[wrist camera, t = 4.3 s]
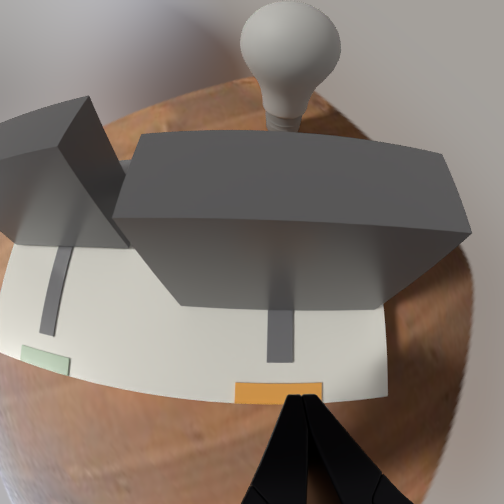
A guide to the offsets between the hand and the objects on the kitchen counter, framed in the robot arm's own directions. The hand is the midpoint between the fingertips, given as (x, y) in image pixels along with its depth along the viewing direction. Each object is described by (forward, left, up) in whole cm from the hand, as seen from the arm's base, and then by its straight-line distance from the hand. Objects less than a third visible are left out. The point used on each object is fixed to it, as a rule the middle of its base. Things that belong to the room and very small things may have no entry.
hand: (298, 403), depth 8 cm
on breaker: (+1, +16, -5) cm, 16 cm away
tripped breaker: (+5, +3, -5) cm, 7 cm away
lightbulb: (+16, +9, -7) cm, 20 cm away
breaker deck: (+2, +9, -7) cm, 11 cm away
